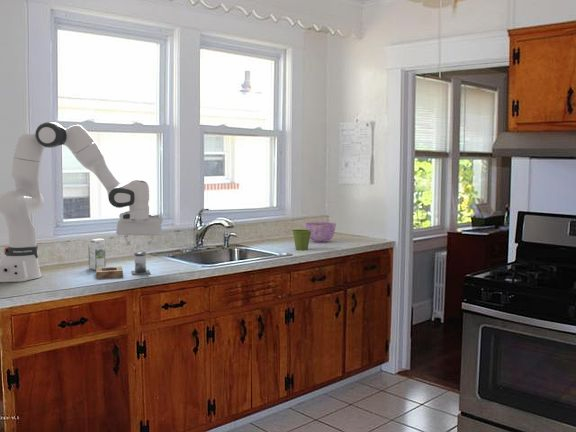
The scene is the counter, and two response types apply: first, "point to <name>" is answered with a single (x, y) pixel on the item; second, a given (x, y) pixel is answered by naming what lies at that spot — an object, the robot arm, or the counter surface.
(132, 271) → the mat
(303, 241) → the plant pot
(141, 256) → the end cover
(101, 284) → the counter surface
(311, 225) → the purple rounded bowl
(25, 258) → the robot arm
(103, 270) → the brown flat square block
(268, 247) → the counter surface
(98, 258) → the syrup box
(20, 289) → the counter surface
